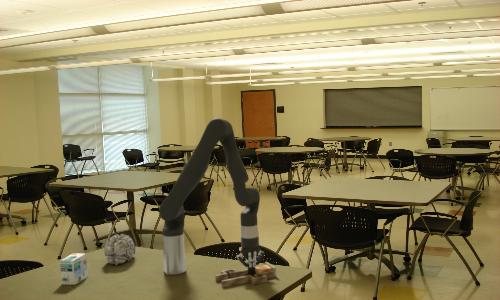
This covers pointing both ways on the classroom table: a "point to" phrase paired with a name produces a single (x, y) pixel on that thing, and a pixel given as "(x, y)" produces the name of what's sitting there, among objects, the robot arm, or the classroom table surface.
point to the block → (262, 269)
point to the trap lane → (244, 276)
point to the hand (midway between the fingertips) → (251, 275)
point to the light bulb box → (73, 268)
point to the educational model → (119, 249)
